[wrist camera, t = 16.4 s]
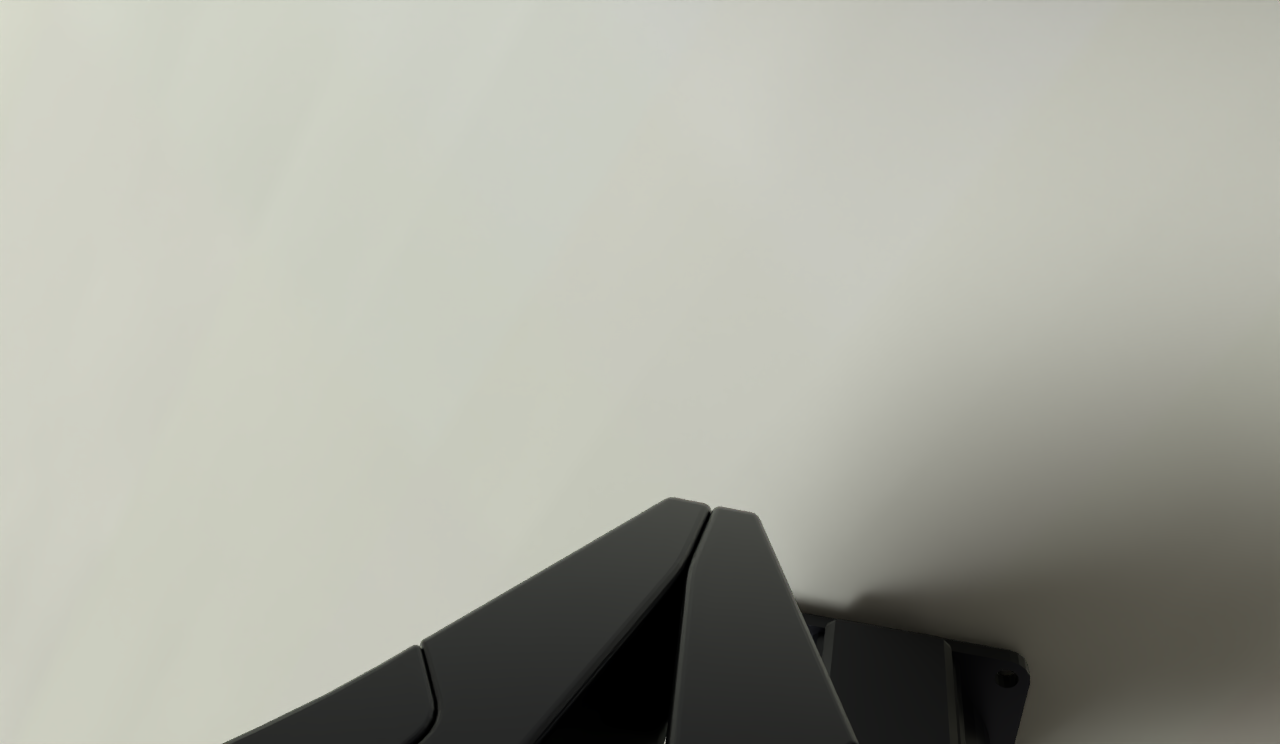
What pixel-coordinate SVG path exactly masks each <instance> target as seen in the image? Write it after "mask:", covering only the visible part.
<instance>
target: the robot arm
mask: <svg viewBox="0 0 1280 744" xmlns="http://www.w3.org/2000/svg"><path fill="white" fill-rule="evenodd" d="M1002 670H1010V671H1013V672H1015V673H1014V674H1012V675H1010V676H1002V675H999V674H997V673H998V672H1000V671H1002ZM1029 685H1030V674H1029V669H1028V664H1027V662H1026V661H1025V659H1024V658H1023V657H1022V656H1021V655H1020V654H1018V653H1016V652H1013V651H1010V650H1006V649H1000V648H994V647H989V646H983V645H978V644H972V643H966V642H961V641H955V640H950V639H944V638H940V637H936V636H930V635H925V634H919V633H914V632H908V631H902V630H897V629H891V628H886V627H880V626H874V625H869V624H863V623H858V622H852V621H846V620H841V619H832V618H827V617H821V616H816V615H810V614H804V613H801V611H800V609H799V607H798V604H797V602H796V600H795V598H794V595H793V593H792V591H791V589H790V586H789V584H788V582H787V580H786V577H785V575H784V573H783V570H782V568H781V566H780V564H779V561H778V559H777V557H776V555H775V552H774V550H773V548H772V546H771V543H770V541H769V539H768V536H767V534H766V532H765V530H764V527H763V525H762V523H761V521H760V519H759V517H758V516H757V515H756V514H755V513H752V512H747V511H741V510H736V509H731V508H726V507H716V508H714V510H713V511H711V508H710V507H709V506H708V505H707V504H705V503H700V502H695V501H690V500H685V499H680V498H675V497H670V498H667V499H664V500H663V501H661V502H659V503H658V504H656V505H654V506H652V507H651V508H649V509H647V510H646V511H644V512H642V513H640V514H639V515H637V516H635V517H633V518H632V519H630V520H628V521H627V522H625V523H623V524H621V525H620V526H618V527H616V528H615V529H613V530H611V531H609V532H608V533H606V534H604V535H603V536H601V537H599V538H597V539H596V540H594V541H592V542H591V543H589V544H587V545H585V546H584V547H582V548H580V549H578V550H577V551H575V552H573V553H572V554H570V555H568V556H566V557H565V558H563V559H561V560H560V561H558V562H556V563H554V564H553V565H551V566H549V567H548V568H546V569H544V570H542V571H541V572H539V573H537V574H535V575H534V576H532V577H530V578H529V579H527V580H525V581H523V582H522V583H520V584H518V585H517V586H515V587H513V588H511V589H510V590H508V591H506V592H505V593H503V594H501V595H499V596H498V597H496V598H494V599H493V600H491V601H489V602H487V603H486V604H484V605H482V606H480V607H479V608H477V609H475V610H474V611H472V612H470V613H468V614H467V615H465V616H463V617H462V618H460V619H458V620H456V621H455V622H453V623H451V624H450V625H448V626H446V627H444V628H443V629H441V630H439V631H438V632H436V633H434V634H432V635H431V636H429V637H427V638H425V639H424V640H422V642H421V644H420V646H418V645H413V646H411V647H409V648H408V649H406V650H404V651H402V652H401V653H399V654H397V655H396V656H394V657H392V658H390V659H389V660H387V661H385V662H384V663H382V664H380V665H378V666H376V667H375V668H373V669H371V670H369V671H367V672H365V673H364V674H362V675H360V676H358V677H356V678H354V679H353V680H351V681H349V682H347V683H345V684H344V685H342V686H340V687H338V688H336V689H334V690H333V691H331V692H329V693H327V694H325V695H323V696H321V697H319V698H317V699H315V700H313V701H311V702H309V703H307V704H305V705H303V706H301V707H299V708H296V709H294V710H292V711H290V712H288V713H286V714H284V715H282V716H280V717H278V718H276V719H274V720H272V721H270V722H268V723H266V724H264V725H262V726H260V727H257V728H255V729H253V730H251V731H249V732H247V733H244V734H242V735H240V736H238V737H236V738H234V739H231V740H229V741H227V742H225V743H223V744H664V742H665V739H666V743H665V744H1015V740H1016V736H1017V732H1018V728H1019V724H1020V720H1021V716H1022V712H1023V708H1024V704H1025V701H1026V697H1027V693H1028V689H1029Z"/></svg>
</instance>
